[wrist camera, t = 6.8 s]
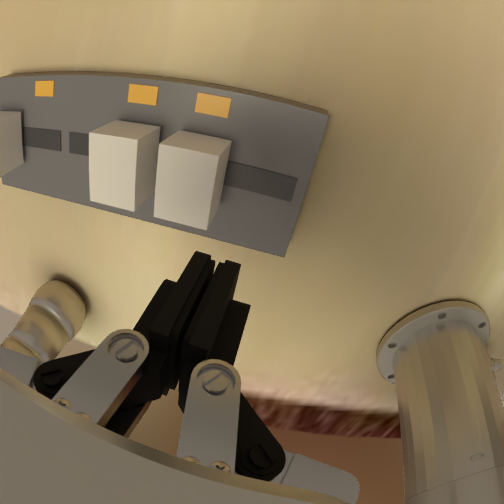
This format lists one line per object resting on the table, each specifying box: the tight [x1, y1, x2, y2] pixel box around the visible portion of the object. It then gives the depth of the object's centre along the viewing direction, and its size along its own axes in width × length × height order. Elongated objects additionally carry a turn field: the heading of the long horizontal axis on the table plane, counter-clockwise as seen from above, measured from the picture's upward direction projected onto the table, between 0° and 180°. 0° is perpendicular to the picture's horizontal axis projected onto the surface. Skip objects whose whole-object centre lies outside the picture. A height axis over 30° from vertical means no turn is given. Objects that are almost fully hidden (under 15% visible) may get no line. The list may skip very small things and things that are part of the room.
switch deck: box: [0, 71, 329, 257], centre depth 20 cm, size 26×10×2 cm, turn 78°
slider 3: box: [154, 130, 232, 230], centre depth 18 cm, size 3×4×3 cm
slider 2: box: [89, 120, 160, 212], centre depth 18 cm, size 3×4×3 cm
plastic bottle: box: [0, 280, 86, 362], centre depth 24 cm, size 6×7×20 cm
